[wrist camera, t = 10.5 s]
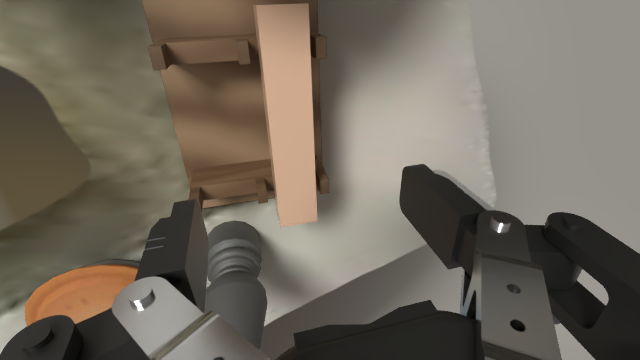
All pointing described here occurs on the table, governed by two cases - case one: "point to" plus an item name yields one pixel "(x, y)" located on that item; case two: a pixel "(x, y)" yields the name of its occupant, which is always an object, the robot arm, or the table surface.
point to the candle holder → (236, 279)
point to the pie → (81, 291)
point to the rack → (223, 95)
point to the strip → (288, 107)
